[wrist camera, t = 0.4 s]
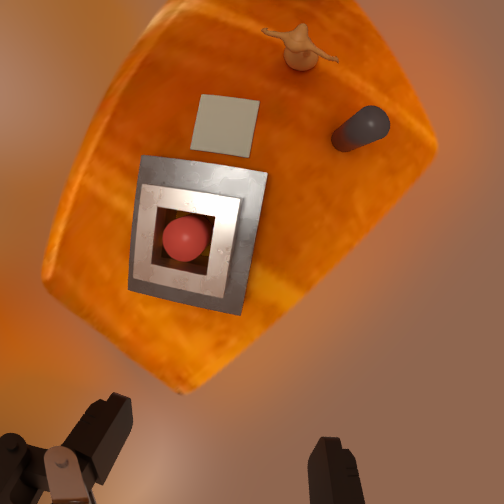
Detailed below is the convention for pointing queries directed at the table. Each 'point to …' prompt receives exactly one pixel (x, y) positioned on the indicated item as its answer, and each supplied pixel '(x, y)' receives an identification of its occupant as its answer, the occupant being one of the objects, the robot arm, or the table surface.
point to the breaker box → (223, 240)
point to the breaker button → (187, 237)
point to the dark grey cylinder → (361, 129)
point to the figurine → (299, 48)
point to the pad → (225, 125)
